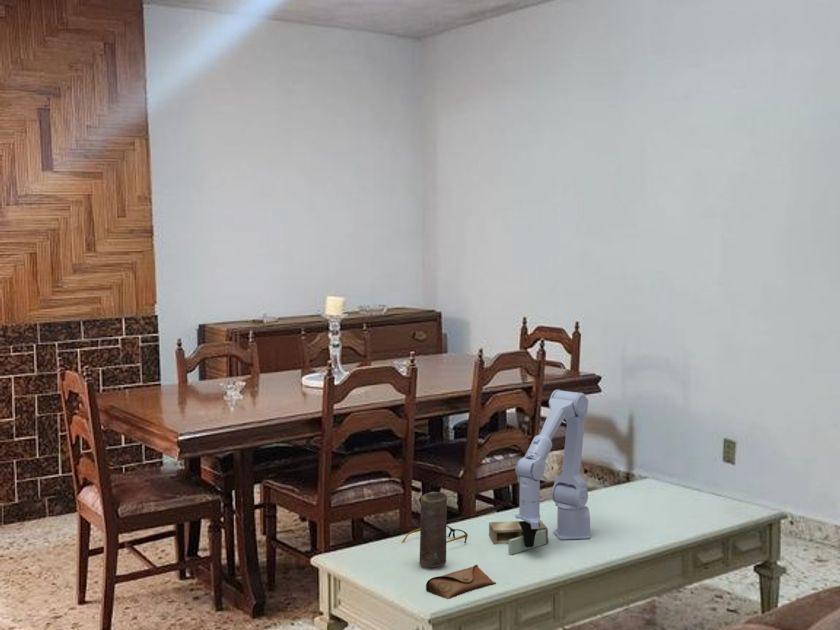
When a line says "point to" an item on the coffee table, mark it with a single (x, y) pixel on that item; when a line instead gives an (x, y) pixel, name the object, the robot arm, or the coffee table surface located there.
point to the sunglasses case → (458, 582)
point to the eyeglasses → (448, 536)
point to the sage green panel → (518, 544)
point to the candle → (433, 529)
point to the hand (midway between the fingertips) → (529, 546)
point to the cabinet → (507, 531)
